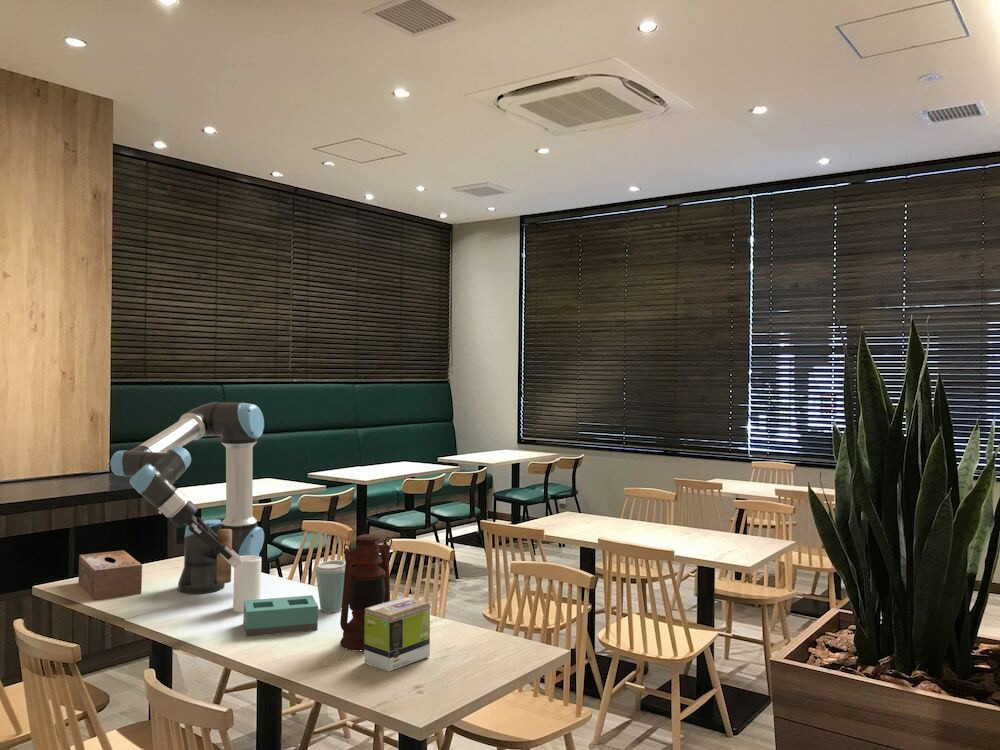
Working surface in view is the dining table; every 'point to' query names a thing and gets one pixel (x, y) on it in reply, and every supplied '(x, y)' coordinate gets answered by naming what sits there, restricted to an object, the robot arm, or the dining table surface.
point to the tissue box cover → (110, 575)
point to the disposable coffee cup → (330, 584)
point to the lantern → (363, 586)
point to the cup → (247, 581)
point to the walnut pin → (222, 564)
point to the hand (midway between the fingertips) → (237, 562)
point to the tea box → (397, 633)
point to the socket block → (280, 615)
